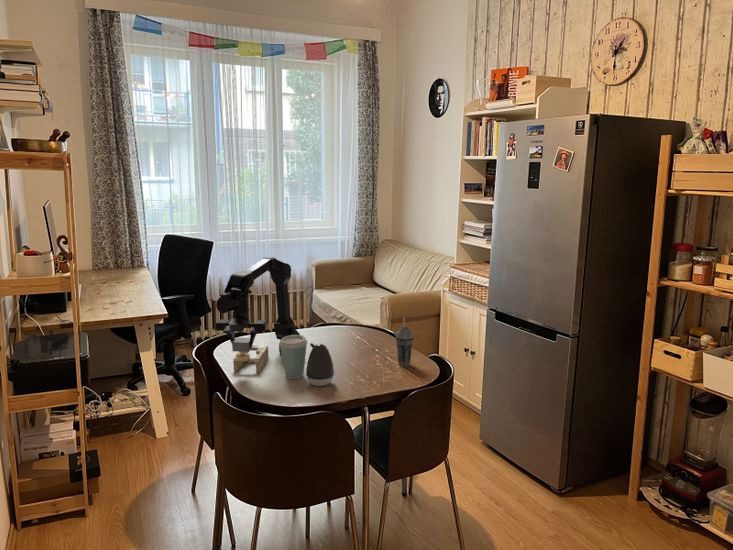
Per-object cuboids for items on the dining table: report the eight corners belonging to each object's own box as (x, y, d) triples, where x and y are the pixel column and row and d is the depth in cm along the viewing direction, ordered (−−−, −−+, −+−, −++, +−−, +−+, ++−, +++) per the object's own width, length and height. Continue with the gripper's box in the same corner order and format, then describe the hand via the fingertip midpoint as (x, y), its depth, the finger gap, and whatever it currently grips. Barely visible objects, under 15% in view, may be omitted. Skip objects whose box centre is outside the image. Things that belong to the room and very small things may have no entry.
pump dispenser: (322, 376, 219) (321, 338, 216) (339, 384, 211) (339, 344, 208) (300, 383, 212) (299, 343, 209) (318, 391, 204) (317, 350, 202)
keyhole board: (268, 358, 238) (268, 345, 237) (259, 372, 223) (258, 358, 222) (244, 357, 239) (244, 345, 238) (233, 371, 223) (233, 358, 222)
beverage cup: (415, 363, 233) (416, 315, 229) (409, 369, 227) (410, 320, 223) (399, 360, 236) (399, 313, 232) (392, 366, 230) (392, 317, 226)
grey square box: (252, 356, 220) (252, 337, 219) (248, 361, 215) (248, 342, 213) (237, 356, 221) (236, 337, 219) (232, 361, 215) (232, 342, 213)
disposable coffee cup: (300, 382, 212) (299, 343, 209) (274, 379, 216) (273, 340, 213) (312, 373, 222) (312, 335, 219) (287, 369, 226) (286, 332, 223)
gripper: (209, 312, 206) (211, 353, 209) (260, 313, 205) (262, 355, 208) (218, 304, 217) (220, 344, 220) (267, 305, 216) (268, 345, 219)
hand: (242, 347), depth 217 cm, fingers closed on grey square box, 6 cm apart
